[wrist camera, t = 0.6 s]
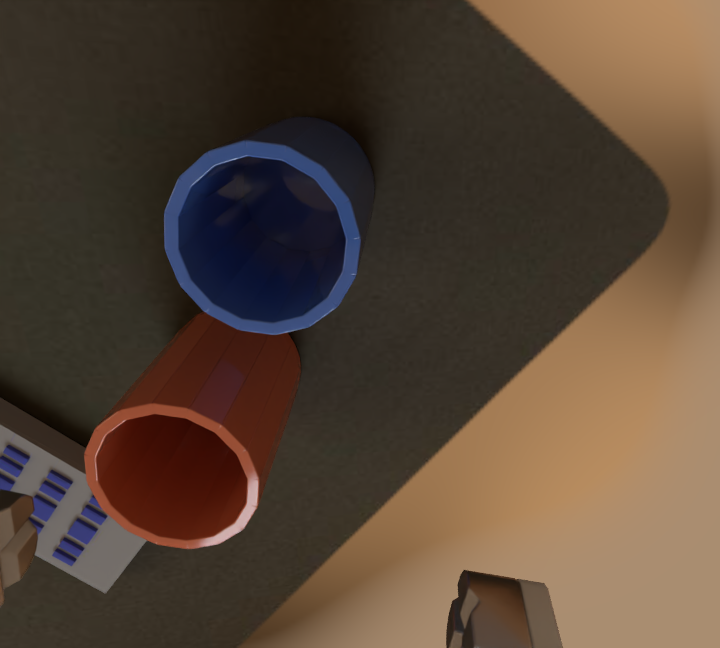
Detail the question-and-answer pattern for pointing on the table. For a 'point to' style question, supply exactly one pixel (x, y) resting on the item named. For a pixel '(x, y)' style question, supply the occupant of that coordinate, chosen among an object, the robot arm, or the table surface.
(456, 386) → the table surface
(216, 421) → the terracotta cup
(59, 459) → the remote control
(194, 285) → the blue cup
